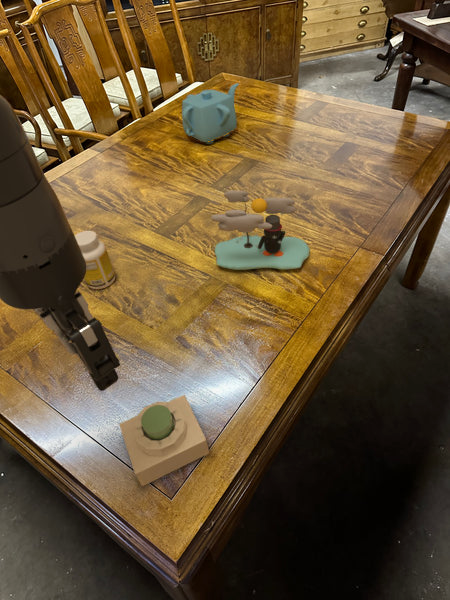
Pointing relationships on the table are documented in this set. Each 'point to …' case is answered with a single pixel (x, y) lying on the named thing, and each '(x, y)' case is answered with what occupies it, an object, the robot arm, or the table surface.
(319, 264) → the table surface
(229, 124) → the teapot
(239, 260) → the penguin figurine
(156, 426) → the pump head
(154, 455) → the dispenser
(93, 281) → the pill bottle
